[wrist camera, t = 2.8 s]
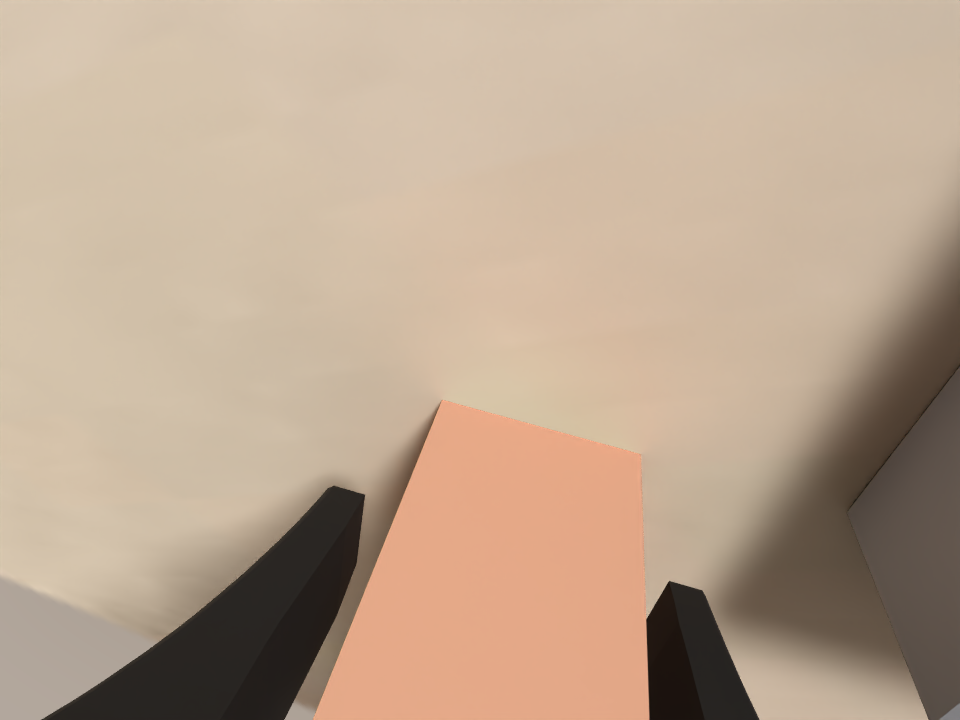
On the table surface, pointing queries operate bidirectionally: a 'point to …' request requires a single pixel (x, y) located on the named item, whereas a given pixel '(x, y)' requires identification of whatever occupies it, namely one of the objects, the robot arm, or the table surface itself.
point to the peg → (503, 584)
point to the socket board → (920, 549)
